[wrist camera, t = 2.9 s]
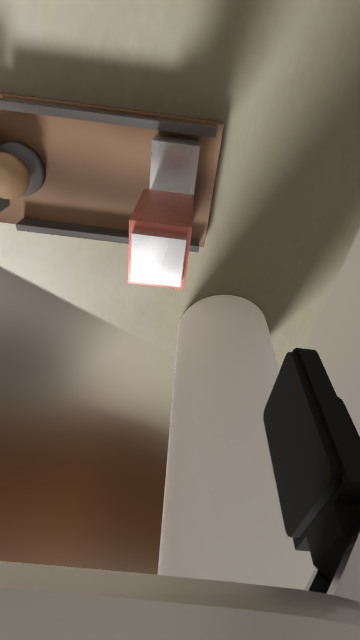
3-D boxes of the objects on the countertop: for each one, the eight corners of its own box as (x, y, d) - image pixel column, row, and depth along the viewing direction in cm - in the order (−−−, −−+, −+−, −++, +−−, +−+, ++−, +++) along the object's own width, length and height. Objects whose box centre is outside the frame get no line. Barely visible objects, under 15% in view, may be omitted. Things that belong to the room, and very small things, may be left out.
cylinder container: (285, 330, 35) (484, 912, 11) (222, 376, 39) (258, 858, 15) (222, 277, 31) (300, 954, 7) (160, 333, 36) (79, 869, 12)
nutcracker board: (-31, 88, 23) (-91, 91, 18) (222, 122, 24) (228, 134, 19) (-3, 214, 29) (-44, 242, 24) (203, 239, 29) (204, 272, 24)
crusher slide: (156, 133, 23) (125, 177, 13) (200, 138, 23) (200, 186, 13) (151, 230, 27) (123, 318, 17) (187, 235, 27) (181, 325, 17)
